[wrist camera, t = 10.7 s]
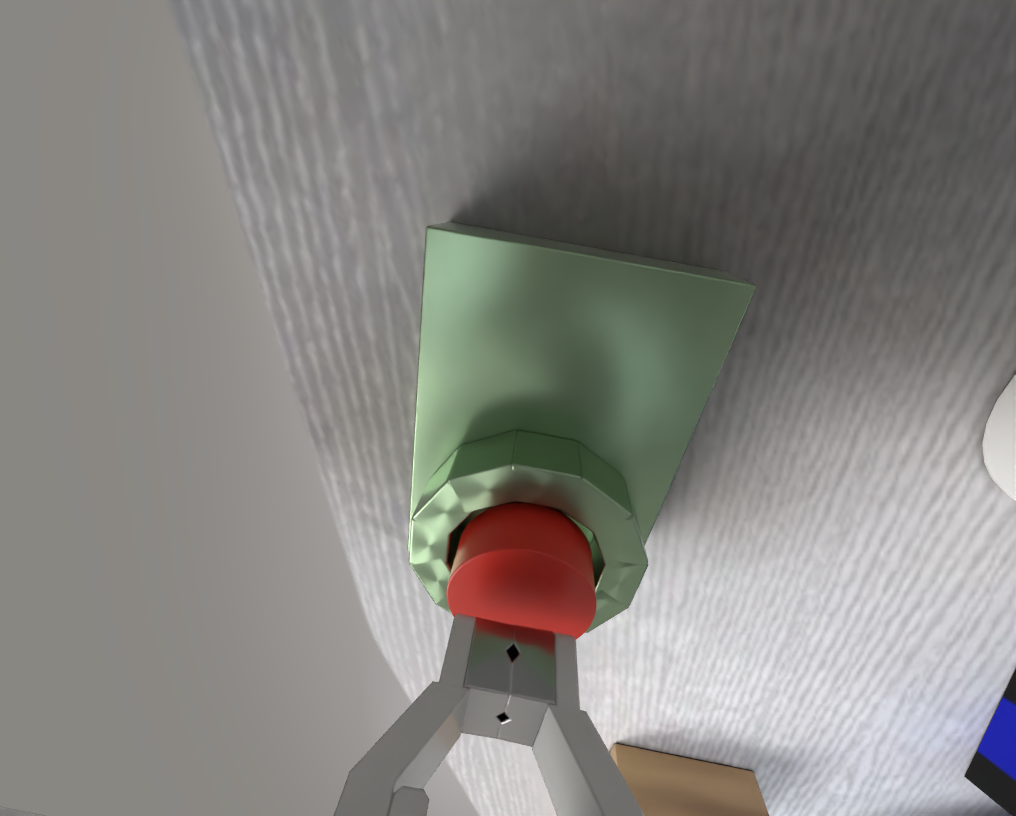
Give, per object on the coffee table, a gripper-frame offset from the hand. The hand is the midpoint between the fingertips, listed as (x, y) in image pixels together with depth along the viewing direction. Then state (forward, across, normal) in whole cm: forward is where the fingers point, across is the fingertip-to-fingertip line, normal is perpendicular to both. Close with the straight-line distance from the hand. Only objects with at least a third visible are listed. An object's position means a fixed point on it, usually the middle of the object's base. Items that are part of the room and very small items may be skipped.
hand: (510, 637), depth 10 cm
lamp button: (+3, 0, 0) cm, 3 cm away
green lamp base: (+6, 0, -3) cm, 7 cm away
